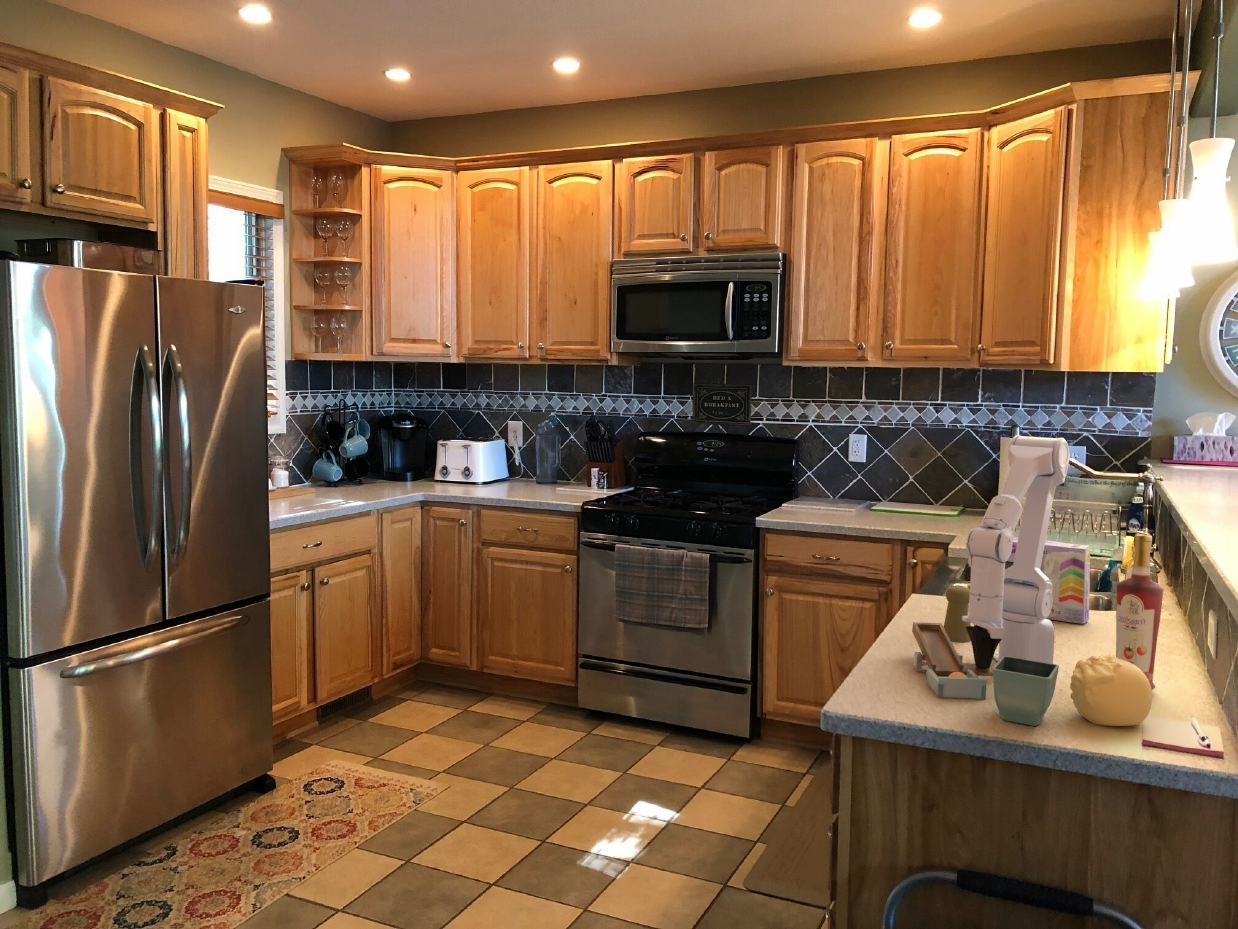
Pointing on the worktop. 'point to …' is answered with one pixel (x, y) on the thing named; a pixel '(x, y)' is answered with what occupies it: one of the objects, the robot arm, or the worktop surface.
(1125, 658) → the liquor
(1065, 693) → the worktop surface
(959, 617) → the olive green pepper shaker
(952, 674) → the ball
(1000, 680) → the flower pot
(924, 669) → the fulcrum
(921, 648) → the lever
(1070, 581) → the cake pan box
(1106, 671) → the sculpture
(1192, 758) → the worktop surface
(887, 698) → the worktop surface
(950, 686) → the dish
